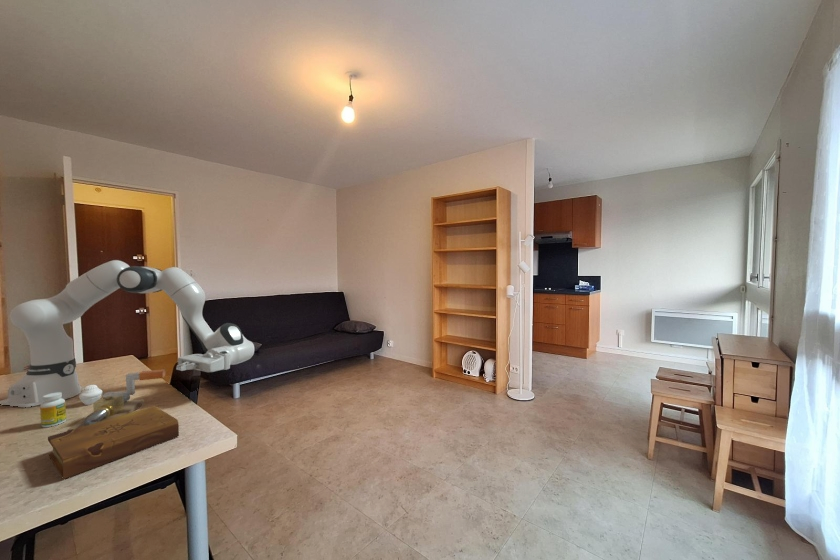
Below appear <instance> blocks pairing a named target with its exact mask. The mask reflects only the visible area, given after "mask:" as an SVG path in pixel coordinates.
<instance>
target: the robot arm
mask: <svg viewBox="0 0 840 560" xmlns="http://www.w3.org/2000/svg"><path fill="white" fill-rule="evenodd" d="M118 289H121V290H123V291H125V292H127V293H132V294H151V293H152V294H153V293H155V294H156V293H159V292H161V291H163V292H164V293H165V294H167V296H168V297H169V298H170V299H171V300H172V302H174V304H175V306H177V308H178V310H179V311H180V315H181V316H182V319H183V320H184V322H185V324H186V325H187V326H188V327H189V329H190V330H191V331H192V333H193V335H195V336H196V339H198V341H199V342H200V344H201V345H200V346H201V348H202V350H203V352H204V354H202V353H194V354H193V353H192V354H188V355H183V356H179V357H177V365H176V368H175V369H176V370H177V371H181V372H183V371H188V370H189V371H190V370H195V371H200V372H204V373H214V372H218V371H225V370H226V371H227V370H229V369H231V366H232V365H233V366H234V365H238V364H241V363H244V362H246V361H249V360H250V359H251V358H252V357H253V356H254V354H255V345H254V343H253V341H251V340H249V339H247V338H246V337H245V336H244V334H243V333H242V330H241V328H240V327H239V326H238V325H237V324H235V323H230V322H226V323H223V324H222V325H221V326H219V327H218V328H217V329H216V330H215V331H213V330H212V328H210V326H209V325H208V322H206V321H205V318H204V316H203V309H204V305H205V302H206V298H207V297H206V293H205V291H204V289H203V288H202V287H201V285H200V284H199V283H198V282H197V281H196V280H195V279H194V278H193V277H192V276H191V275H190V274H188V273H187V272H186V271H185V270H183V269H181V268H180V267H176V266H172V267H167V268H165V269H163V270H161V268H160V269H159V268H155V267H152V266H151V267H150V266H138V265H133V266H130V265H129V264H128V263H126V262H124V261H122V260H119V259H113V260H110V261H107V262H104V263H102V264H100V265H97V266H96V267H94V268H91V269H90V270H88V271H87V272H85V273H83V274H82V275H80V276H78V277H76V278H74V279H73V280H71V281H69V282H68V283H67V284H66V285H65V288H64V289H62V291H61V292H59V293H57V294H55V295H54V296H51V297H47V298H41V299H40V298H38V299H31V300H29V301H25V302H23V303H20V304H17V305H16V306H14V307H13V308H12V309H11V311H10V313H9V319H10V323H12V324H13V326H15V327H17V328H18V329H20V330H21V331H22V333H23V334H24V337H25V338H26V340H27V342H28V346H29V354H30V355H29V356H30V365H26V366H23V368H24V369H23V371H26V374H25V375H24V376H23V377H21V378H20V379H19V380H17V381H15V382H14V383H12V384H11V385H10V386H9V387H8V389H7V397H6V398H4V399H2V400H0V404H3V405H10V406H9V407H13V406H18V407H17V408H25V407H26V408H31V406H32V407H35V406H39V405H41V404H42V403H43V402H44V401H43V396H45V395H47V394H51V393H58V392H61V393H62V397H61V398H62V399H64V400H67V399H70V398H73V397H76V396H79V395H80V394H81V393H82V392H83V390H82V385H80V382H79V377H78V371H77V370H76V368H77V361H76V358H75V353H74V351H75V350H74V340H73V338H72V337H71V336H69V335H68V334H67V332H66V330H65V329H64V325H66V324H70V323H72V322H74V321H76V320H78V319H79V318H81V317H83V315H84V314H85V312H87V311H88V310H89V309H90V308H91V307H93V306H95V304H96V303H98V302H100V301H101V300H103V299H105V298H107V297H108V296H109V295H111V294H112V293H114V292H115V291H116V292H117V290H118Z"/></svg>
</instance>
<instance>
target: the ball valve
mask: <svg viewBox="0 0 840 560" xmlns="http://www.w3.org/2000/svg"><path fill="white" fill-rule="evenodd" d="M130 399H131V395H126V396H118V397H112V398H109V399H103V396H101V397H100V398H99V400H97V401H96V402H94V403H93V404H92V405H93V412H94V413H93V412H92V413H93V414H92V415H91V416H89V417H88V418H86V419H85V421H84V424H85V425H86V426H87V425H90V424H94V423H97V422H99V421H101V420H102V419H104V418H107V417H109V416H114V415H115V414H117V413H118V412H119V411H121V410H122V409H123V408H124V403H125V402H126V401H130Z"/></svg>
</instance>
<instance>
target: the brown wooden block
mask: <svg viewBox="0 0 840 560" xmlns="http://www.w3.org/2000/svg"><path fill="white" fill-rule="evenodd" d="M179 431H180V430H179V421H178V419H177V418H176V417H174V416H172V415H170V414H169V413H167V412H165V411H164V410H162V409H160V408H159V407H157V406H156V405H151V406H149V407H146V408H142V409H140V410H139V409H138V410H135V411H134V412H131V413H128V414H124V415H121V416H118V417H114V418H111V419H107V420H104V421H100V422H97V423H94V424H90V425H87V426H83V427H80V428H76V429H73V430H70V431H67V430H66V431H63V432H60V433H56V434H52V435H50V436H47V441H48V442H49V444H50V445H51V447H52V452H51V453H48V457H49V456H50V457H49V458H51V459H50V460H51V462H52V461H53V462H52V464H53V465H54V467H55V466H56V467H55V469H56V470H57V469H58V470H57V471H58V473H59V475H60V474H61V475H60V476H61V478H62V477H63V478H62V480H63V479H65V480H67V479H70V478H72V476H73V477H75V476H78V475H81V474H83V473H86V472H88V470H89V471H91V470H93V468H94V469H96V467H97V468H100V467H102V466H104V464H105V465H107V464H110V463H113V462H114V461H115V462H116V461H118V460H121V459H123V458H126V457H129V456H130V455H134V454H136V452H137V453H139V452H142V451H145V450H147V449H150V448H152V447H151V446H153V447H154V445H155V446H157V445H156V444H158V445H160V444H159V443H161V442H163V443H165V442H164V441H166V442H168V441H167V440H169V441H171V440H173V439H172V438H174V439H176V438H175V437H177V436H180V432H179ZM177 438H178V437H177ZM170 439H171V440H170ZM161 444H162V443H161ZM149 447H150V448H149ZM146 448H147V449H146ZM144 449H145V450H144ZM141 450H142V451H141ZM133 453H134V454H133ZM128 455H129V456H128ZM90 469H91V470H90ZM85 471H86V472H85ZM82 472H83V473H82ZM80 473H81V474H80ZM77 474H78V475H77ZM74 475H75V476H74ZM69 477H70V478H69ZM66 478H67V479H66Z"/></svg>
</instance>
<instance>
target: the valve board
mask: <svg viewBox="0 0 840 560" xmlns="http://www.w3.org/2000/svg"><path fill="white" fill-rule="evenodd" d="M144 403H145V401H144V399H143V398H142V399H141V398H140V399H132V400H128V401H126V402H125V403H124V408H123V409H122V410H121V411H119V412H118V413H117V414H115V415H114V416H109V417H107V418H104V419H102V420H101V421H104V420H107V419H111V418H114V417H118V416H121V415H124V414H128V413H131V412H135V411H137V409H139V408H140V407H141V406H142V405H143V404H144ZM93 413H94V411H92V412H91V413H90V414H88V415H87V416H85V417H84V418H82V419H80V420H79V421H78V422H76V423H75V424H74V425H72V426H71V427H69V428H68V429H67V430H66V431H70V430H73V429H76V428H80V427H83V426H86V425H85V424H84V421H85V419H86V418H88V417H89V416H91V415H92V414H93ZM99 422H100V421H99Z"/></svg>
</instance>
